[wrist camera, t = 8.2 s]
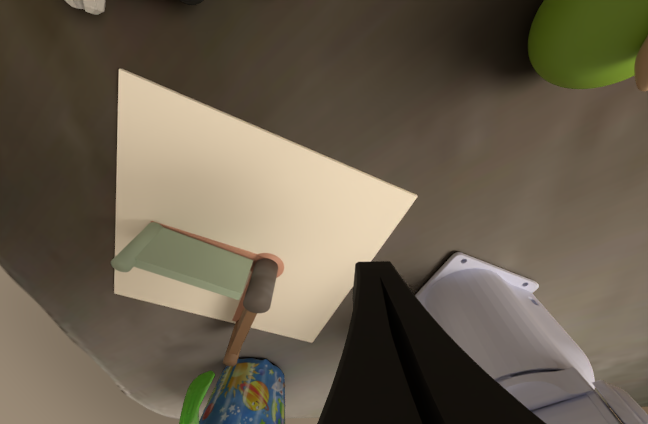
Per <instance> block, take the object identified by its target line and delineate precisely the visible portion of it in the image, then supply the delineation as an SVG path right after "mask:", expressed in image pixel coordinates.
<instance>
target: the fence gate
mask: <svg viewBox="0 0 648 424" xmlns="http://www.w3.org/2000/svg"><path fill="white" fill-rule="evenodd" d="M252 263H253V260H251V259H248V258H246V257H243V256H240V255H238V254H235V253H232V252H229V251H227V250H224V249H221V248H218V247H216V246H213V245H210V244H207V243H205V242H202V241H199V240H197V239H194V238H191V237H188V236H186V235H183V234H180V233H177V232H175V231H172V230H169V229H166V228H164V227H162V226H161V225H160V224H158V223H155V222H152V223H149V224H148V225H147V226H146V227H145V228H144V229H143V230H142V231H141V232H140V233H139V234H138V235H137V236H136V237H135V238H134V239H133V240H132V241H131V242H130V243H129V244H128V245H127V246H126V247H125V248H124V249H123V250H122V251H121V252H120V253H119V254H118V255H117V256H115V257H114V258H113V259H112V261H111V265H112V267H113V268H114V269H116V270H118V271H120V272H129V271H130V270H131V269H132V268H133V267H136V268H139V269H143V270H146V271H149V272H152V273H155V274H158V275H161V276H164V277H168V278H171V279H174V280H177V281H180V282H183V283H186V284H189V285H193V286H196V287H199V288H202V289H205V290H208V291H211V292H214V293H218V294H221V295H224V296H227V297H230V298H233V299H236V300H239V299H240V297H241V295H242V293H243V290H244V287H245V284H246V281H247V278H248V275H249V272H250V269H251V266H252Z"/></svg>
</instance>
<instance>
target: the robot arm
mask: <svg viewBox="0 0 648 424" xmlns="http://www.w3.org/2000/svg"><path fill="white" fill-rule="evenodd" d="M462 259H463V260H462ZM538 287H539V284H538V283H537V282H536V281H533V280H531V279H528V278H526V277H523V276H520V275H518V274H515V273H513V272H510V271H507V270H505V269H502V268H500V267H497V266H495V265H492V264H489V263H487V262H484V261H482V260H479V259H476V258H474V257H471V256H469V255H466V254H464V253H461V252H456V253H454V254H453V255H452V256H451V257H450V258H449V259H448V260H447V261H446V262H445V263H444V265H443V266H442V267H441V268H440V269H439V270H438V271H437V272H436V273H435V274H434V275H433V276H432V277H431V279H430V280H429V281H428V282H427V283H426V284H425V285H424V286H423V287H422V288H421V289H420V290H419V292H418V293H417V294H416V295H414V294H413V292H412V291H411V290H410V288H409V287H408V286H407V284H406V283H405V282H404V280H403V279H402V278H401V276H400V275H399V273H398V272H397V271H396V269H395V268H394V266H393V265H392V264H391V263H390V262H357V263H356V264H355V274H354V285H353V313H352V318H351V322H350V327H349V331H348V335H347V339H346V343H345V346H344V350H343V353H342V356H341V360H340V363H339V366H338V369H337V372H336V375H335V378H334V381H333V384H332V387H331V389H330V392H329V395H328V397H327V400H326V403H325V405H324V408H323V410H322V413H321V416H320V418H319V421H318V423H317V424H622V423H623V424H648V414H647V413H646V412H645V411H644V410H643V409H642V408H641V407H640V406H639V405H638V404H637V403H636V402H635V400H634V399H633V398H632V397H631V396H630V395H629V394H628V393H627V392H626V391H625V390H623V389H622V388H619V387H617V386H614V385H609V384H608V383H607V382H605V381H603V380H598V381H595V379H594V374H593V370H592V367H591V364H590V362H589V360H588V358H587V357H586V355H585V353H584V352H583V351H582V350H581V348H580V347H579V346H578V345H577V344H576V343H575V341H574V340H573V339H572V338H571V337H570V336H569V335H568V333H567V332H566V331H565V330H564V329H563V328H562V327H561V326H560V324H559V323H558V322H557V321H556V320H555V319H554V318H553V316H552V315H551V314H550V313H549V312H548V311H547V310H546V308H545V307H544V306H543V305H542V304H541V303H540V302H539V300H538V299H537V298H536V297H535V296H534V295H533V294H532V293H533V292H534V291H535V290H536V289H537V288H538ZM595 387H596V389H597V390H598V391H599V392H600V394H601V395H602V396H603V397H604V398H605V400H606V401H607V402H608V403H607V404H608V405H609V407H610V408H611V409H612V410H613V412H614V413H615V414H616V415H617V417H618V418H619V419H620V420H621V422H622V423H621V422H620V421H619V420H618V418H617V417H616V416H615V415H614V413H613V412H612V411H611V410H610V409H609V407H608V406H607V405H606V404H605V402H604V401H603V400H602V399H601V397H600V396H599V395H598V394H597V392H596V391H595V390H594V389H595Z"/></svg>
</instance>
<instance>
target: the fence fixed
mask: <svg viewBox="0 0 648 424" xmlns="http://www.w3.org/2000/svg"><path fill="white" fill-rule="evenodd" d="M277 272H278V265H277V263H276V262H275V261H273V260H271V259H268V258H263V259H259V260H258V261H257V262H256V263H255V266H254V269H253V272H252V276H251V279H250V282H249V285H248V288H247V291H246V294H245V298H244V301H243V306H244V309H243V311H242V314H241V316H240V318H239V320H238V321H236V323H235V326H234V329H233V332H232V335H231V338H230V342H229V345H228V348H227V351H226V354H225V357H224V360H223V364H224V365H226V366H235V365H236V364H237V361H238V357H239V353H240V350H241V346H242V344H243V342H244V340H245V338H246V336H247V334H248V332H249V330H250V327H251V325H252V323H253V321H254V319H255V317H256V315H257V313H264V312H267V311H268V310H269V309H270V306H271V301H272V296H273V292H274V287H275V282H276V277H277Z"/></svg>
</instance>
